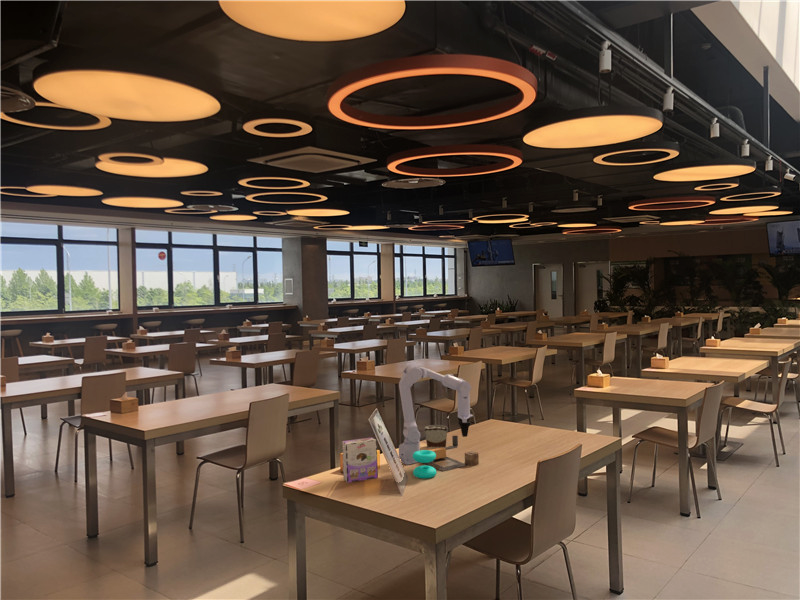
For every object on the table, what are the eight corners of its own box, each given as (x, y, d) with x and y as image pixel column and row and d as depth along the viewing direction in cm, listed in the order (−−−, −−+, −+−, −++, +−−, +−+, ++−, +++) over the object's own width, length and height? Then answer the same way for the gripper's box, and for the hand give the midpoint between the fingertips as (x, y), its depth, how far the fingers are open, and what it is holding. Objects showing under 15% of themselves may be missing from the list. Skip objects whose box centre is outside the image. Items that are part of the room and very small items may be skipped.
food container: (449, 443, 301) (448, 424, 300) (448, 447, 294) (448, 427, 294) (424, 444, 302) (424, 424, 302) (424, 447, 296) (423, 427, 296)
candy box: (373, 474, 255) (372, 436, 255) (378, 478, 250) (377, 439, 250) (343, 479, 250) (341, 440, 250) (346, 483, 245) (345, 443, 245)
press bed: (442, 471, 256) (442, 465, 256) (419, 461, 271) (419, 455, 271) (467, 465, 263) (467, 459, 263) (444, 456, 279) (444, 450, 279)
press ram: (428, 460, 269) (427, 442, 269) (425, 459, 271) (424, 441, 271) (459, 454, 278) (458, 436, 278) (456, 453, 280) (455, 435, 280)
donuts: (427, 447, 258) (440, 453, 249) (428, 470, 258) (441, 476, 250) (408, 451, 253) (420, 457, 244) (408, 474, 253) (421, 481, 245)
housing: (470, 466, 263) (470, 454, 262) (464, 463, 266) (464, 452, 266) (478, 464, 265) (478, 452, 265) (472, 462, 269) (472, 450, 269)
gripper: (473, 408, 271) (473, 438, 271) (471, 402, 285) (472, 430, 285) (457, 409, 271) (458, 438, 271) (456, 402, 286) (457, 430, 286)
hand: (464, 434), depth 278 cm, fingers open, 7 cm apart
